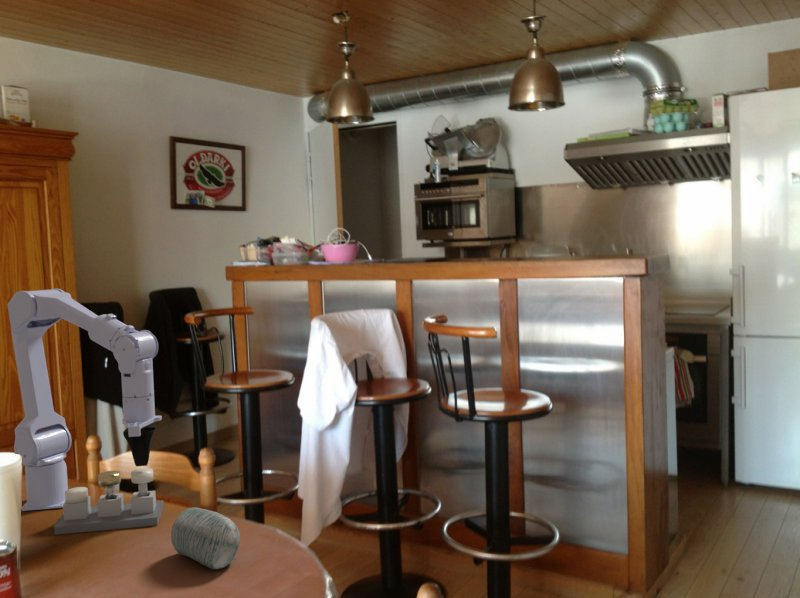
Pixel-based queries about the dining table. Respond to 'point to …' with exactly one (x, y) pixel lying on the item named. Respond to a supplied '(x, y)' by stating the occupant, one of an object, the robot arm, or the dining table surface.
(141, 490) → the ivory knob
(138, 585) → the dining table surface
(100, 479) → the brass knob
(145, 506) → the mount
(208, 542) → the spool
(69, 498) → the ivory knob
